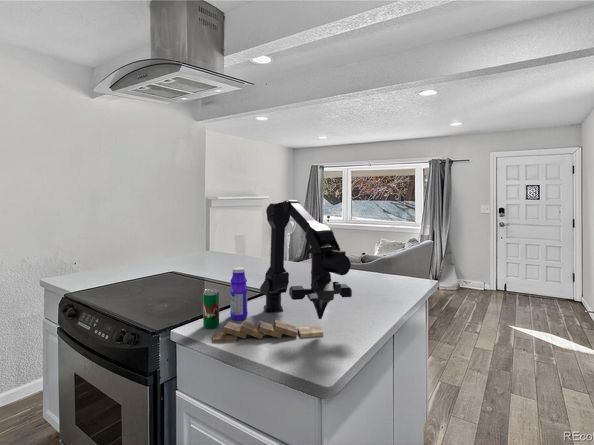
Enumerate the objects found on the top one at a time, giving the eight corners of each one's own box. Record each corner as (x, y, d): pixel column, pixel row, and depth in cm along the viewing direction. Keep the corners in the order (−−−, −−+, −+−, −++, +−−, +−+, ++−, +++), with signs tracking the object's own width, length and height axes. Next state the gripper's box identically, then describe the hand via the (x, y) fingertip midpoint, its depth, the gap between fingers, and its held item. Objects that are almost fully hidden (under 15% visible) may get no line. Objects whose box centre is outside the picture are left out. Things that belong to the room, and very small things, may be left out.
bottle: (228, 315, 125) (228, 266, 124) (244, 313, 128) (243, 265, 126) (233, 322, 119) (232, 271, 117) (249, 319, 121) (249, 269, 120)
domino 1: (237, 336, 108) (214, 337, 107) (237, 331, 108) (214, 332, 107) (237, 343, 103) (212, 344, 102) (237, 338, 103) (212, 339, 102)
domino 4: (279, 332, 110) (258, 325, 109) (281, 327, 110) (259, 320, 109) (280, 338, 106) (258, 331, 104) (282, 333, 105) (260, 326, 104)
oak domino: (319, 331, 113) (297, 332, 111) (319, 326, 113) (297, 327, 111) (323, 337, 108) (300, 338, 106) (323, 332, 108) (300, 333, 106)
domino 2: (249, 332, 109) (227, 326, 110) (250, 328, 109) (228, 321, 110) (245, 338, 104) (222, 332, 105) (246, 333, 104) (224, 326, 105)
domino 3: (262, 333, 109) (242, 324, 109) (264, 328, 109) (244, 320, 109) (261, 339, 104) (239, 330, 104) (263, 334, 104) (241, 325, 104)
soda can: (220, 323, 117) (220, 288, 116) (217, 329, 112) (217, 292, 111) (205, 323, 117) (204, 288, 116) (201, 329, 112) (201, 292, 111)
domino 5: (293, 331, 111) (273, 324, 110) (295, 326, 111) (274, 319, 110) (296, 337, 106) (274, 330, 105) (297, 332, 106) (276, 325, 105)
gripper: (295, 276, 99) (295, 330, 100) (358, 274, 102) (357, 326, 104) (289, 268, 110) (288, 316, 111) (346, 266, 113) (345, 313, 114)
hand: (319, 318), depth 110 cm, fingers closed
